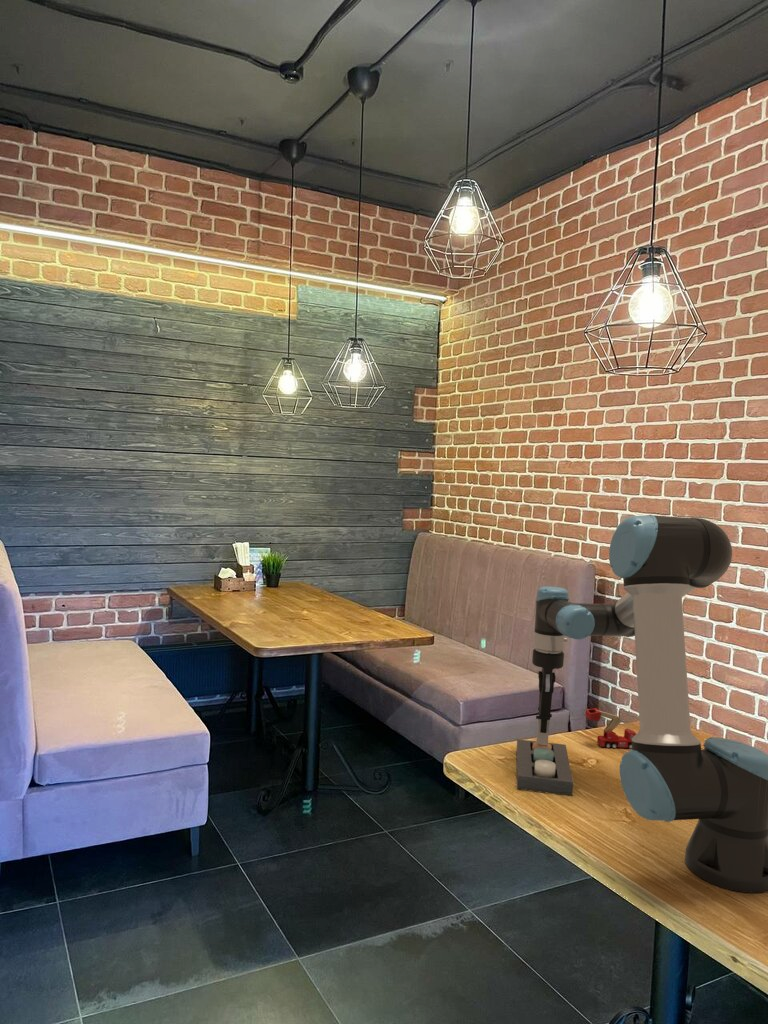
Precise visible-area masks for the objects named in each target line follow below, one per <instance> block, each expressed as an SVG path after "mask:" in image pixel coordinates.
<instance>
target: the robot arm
mask: <svg viewBox="0 0 768 1024" xmlns="http://www.w3.org/2000/svg"><path fill="white" fill-rule="evenodd" d="M732 558H733V548H732V543H731V541H730V538H729V536H728V535H727V534H726V532H725V531H724V530H723V529H722V527H720V526H719V525H718V524H716V523H714V522H713V521H711V520H709V519H708V520H707V519H706V518H701V517H684V516H683V517H682V516H681V517H680V516H668V515H667V516H666V515H653V514H648V515H633V516H632V515H631V516H628V517H626V518H624V519H623V520H622V521H620V523H619V524H618V525H617V527H616V529H615V531H614V532H613V535H612V537H611V540H610V544H609V551H608V559H609V565H610V568H612V569H611V570H612V573H614V575H615V576H616V577H619V578H620V579H622V581H623V590H625V591H626V593H625V594H624V595H623V596H621V597H620V598H619V599H617V600H616V601H615V602H614V603H584V602H583V603H582V602H581V603H580V602H570V601H569V600H570V598H569V591H568V590H567V589H566V588H564V587H559V586H558V587H557V586H550V585H549V586H541V587H539V588H538V589H537V593H536V600H535V614H534V617H535V618H534V631H533V640H532V641H533V644H532V646H533V648H534V649H533V650H532V661H531V662H532V664H533V665H534V666H535V667H538V668H541V670H540V671H538V673H537V675H538V677H537V678H538V692H539V699H538V707H537V710H538V711H537V713H538V714H537V715H535V719H536V720H537V728H536V730H537V732H536V743H537V744H538V745H546V746H548V743H549V734H550V720H551V718H553V714H552V713H551V712H552V711H551V710H552V700H553V699H552V698H553V694H554V689H555V688H554V687H555V683H556V672H554V671H553V670H555V669H556V670H558V669H561V668H563V667H564V662H565V661H564V659H565V653H564V650H565V643H567V642H568V641H569V640H568V639H573V640H577V641H579V640H584V639H586V638H587V637H625V638H632V637H634V644H635V648H634V649H635V663H636V664H635V666H636V682H637V697H638V698H637V699H638V718H639V719H638V720H639V730H638V732H637V733H636V735H635V736H634V737H633V738H632V749H630V750H628V751H627V752H625V753H624V754H622V757H621V760H620V764H619V778H620V783H621V786H622V791H623V793H624V795H625V798H626V800H627V801H628V802H629V805H630V807H631V808H632V809H633V811H635V813H636V814H637V815H638V816H640V817H641V818H643V819H645V820H647V821H663V822H666V823H670V822H673V821H683V820H684V821H686V820H687V821H688V820H698V821H697V823H696V825H695V827H694V830H693V832H692V833H691V836H690V838H689V840H688V842H687V844H686V847H685V853H684V856H685V857H684V862H685V864H686V866H687V869H689V870H690V871H691V872H692V873H694V874H695V875H696V876H697V877H699V878H701V879H702V880H703V881H706V882H708V883H711V884H712V885H715V886H717V887H720V888H723V889H726V890H727V889H728V890H731V891H735V892H740V893H748V894H749V893H751V894H753V893H766V892H768V754H767V753H766V752H764V751H763V750H761V749H759V748H757V747H755V746H752V745H749V744H747V743H745V742H741V741H737V740H734V739H730V738H726V737H725V738H724V737H715V736H711V737H708V738H706V739H705V741H704V743H703V745H702V743H701V740H699V739H698V737H696V736H695V735H694V734H693V732H692V729H691V718H690V717H691V715H690V713H691V712H690V701H689V689H688V688H689V686H688V671H687V656H686V653H687V652H686V642H685V641H686V640H685V624H684V623H685V622H684V612H683V611H684V610H683V597H685V596H686V595H688V594H690V593H691V592H692V591H693V590H695V589H704V588H708V587H709V586H711V585H712V584H714V583H716V582H717V581H718V580H719V579H721V578H722V576H724V574H726V572H727V571H728V569H729V568H730V565H731V562H732ZM702 746H703V747H704V749H702Z"/></svg>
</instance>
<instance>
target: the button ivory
mask: <svg viewBox="0 0 768 1024" xmlns="http://www.w3.org/2000/svg"><path fill="white" fill-rule="evenodd" d="M555 768H556V764H555V763H554V762H551V761H548V760H537V761H535V769H534V776H540V777H549V778H555Z"/></svg>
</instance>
